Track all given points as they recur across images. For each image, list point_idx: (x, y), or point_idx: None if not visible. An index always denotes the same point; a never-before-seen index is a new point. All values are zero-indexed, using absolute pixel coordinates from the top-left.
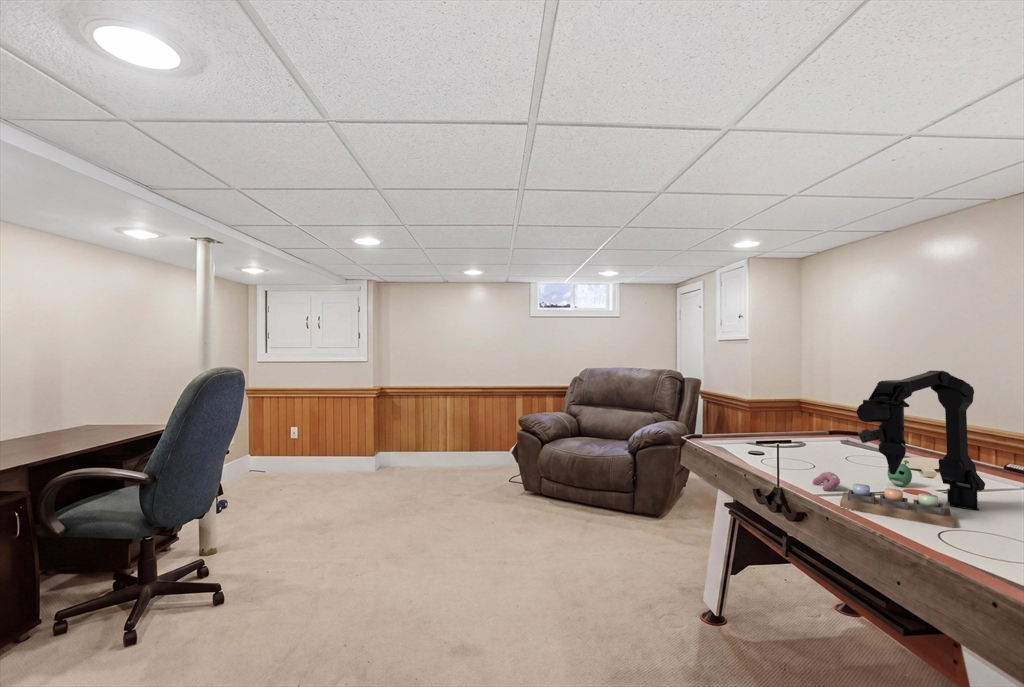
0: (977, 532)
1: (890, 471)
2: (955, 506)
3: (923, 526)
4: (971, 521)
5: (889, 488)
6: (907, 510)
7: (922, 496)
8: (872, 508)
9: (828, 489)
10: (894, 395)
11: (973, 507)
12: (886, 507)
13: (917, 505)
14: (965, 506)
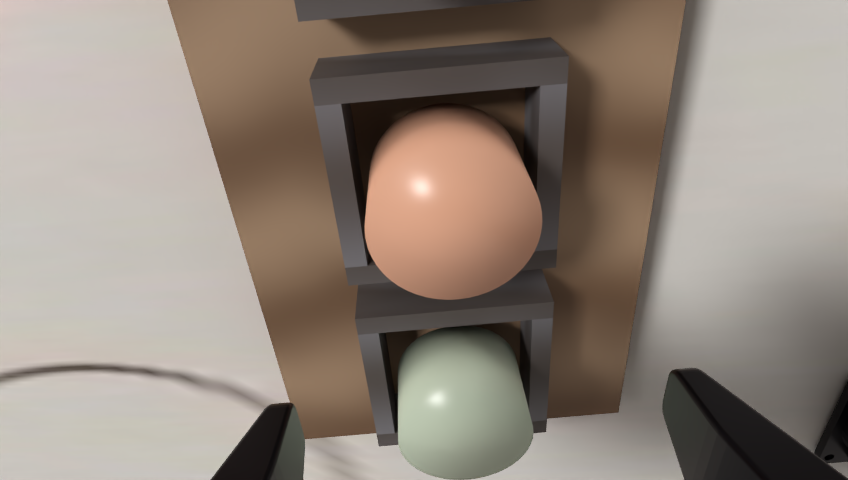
0: (323, 465)
1: (243, 445)
2: (845, 390)
3: (184, 305)
4: (537, 443)
5: (529, 188)
6: (333, 250)
7: (408, 411)
8: (176, 7)
9: None
10: None
11: (843, 448)
12: (288, 118)
13: (359, 333)
14: (843, 427)
